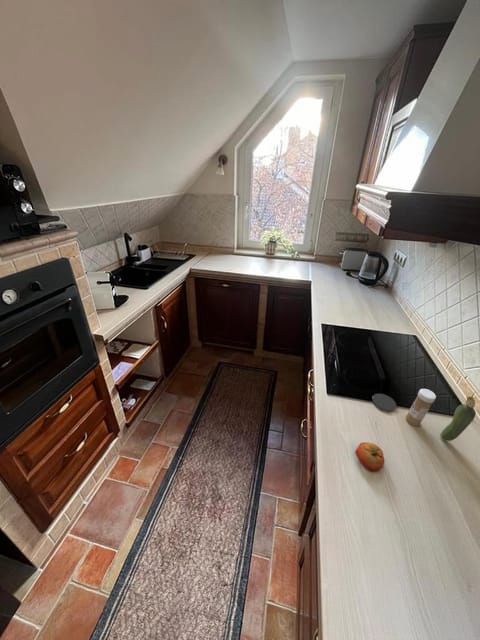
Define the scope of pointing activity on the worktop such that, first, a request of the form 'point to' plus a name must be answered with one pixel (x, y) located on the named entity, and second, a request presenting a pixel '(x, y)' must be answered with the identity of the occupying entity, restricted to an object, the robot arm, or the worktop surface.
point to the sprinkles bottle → (420, 407)
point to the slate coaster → (384, 402)
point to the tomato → (370, 456)
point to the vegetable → (460, 420)
